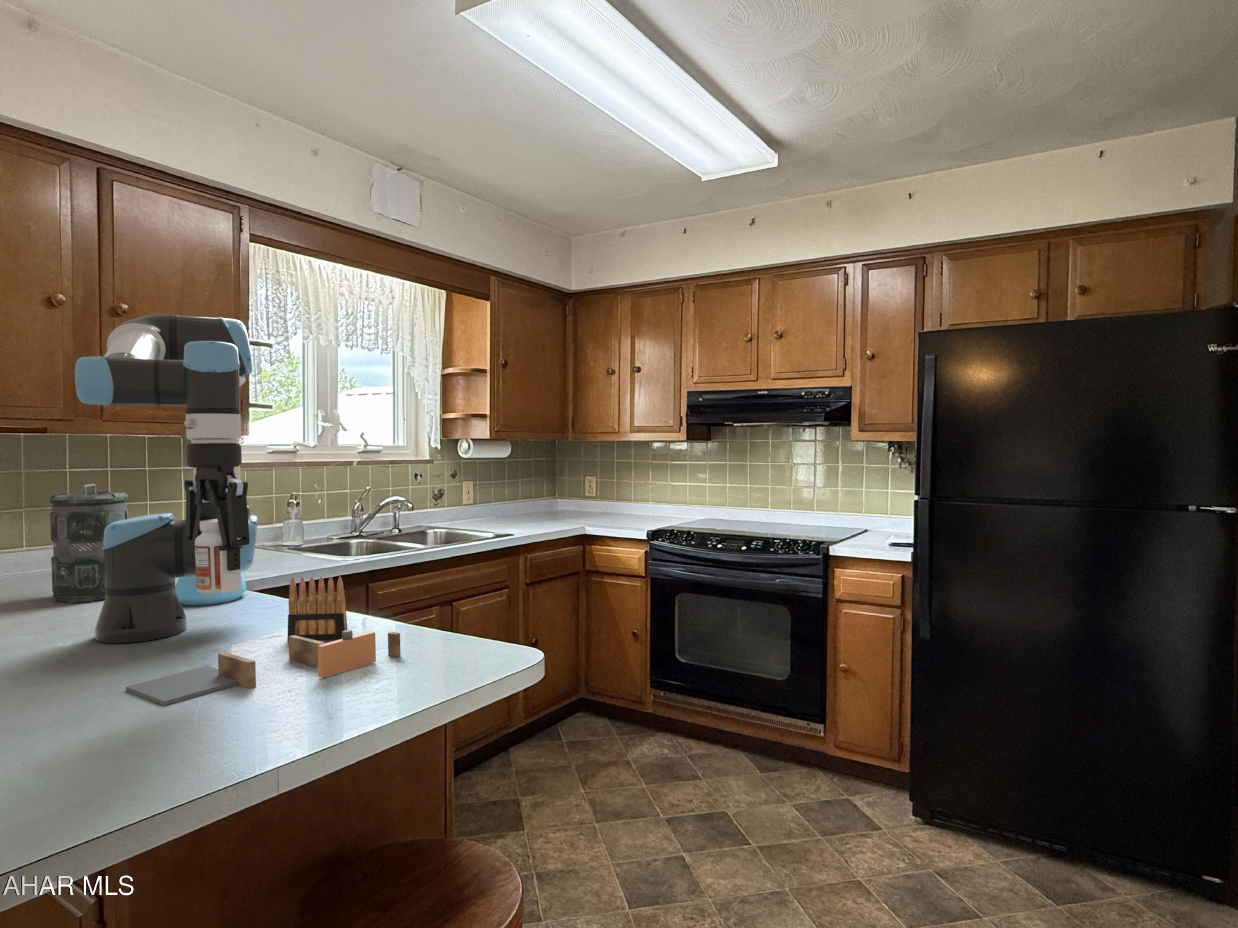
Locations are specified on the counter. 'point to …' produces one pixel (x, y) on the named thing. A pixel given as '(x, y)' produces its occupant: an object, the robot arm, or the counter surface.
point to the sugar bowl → (192, 597)
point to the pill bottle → (208, 557)
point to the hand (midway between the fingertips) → (218, 588)
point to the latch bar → (346, 653)
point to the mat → (182, 685)
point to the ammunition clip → (317, 611)
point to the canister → (82, 542)
